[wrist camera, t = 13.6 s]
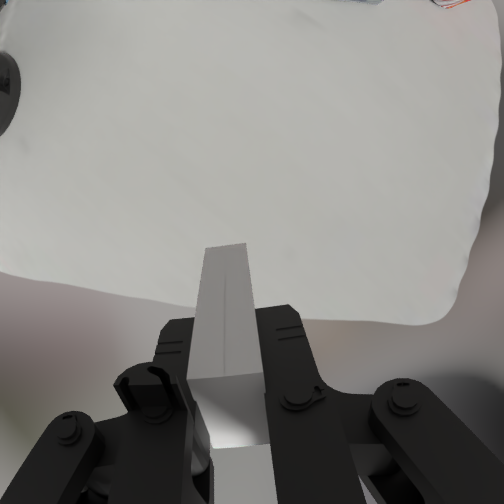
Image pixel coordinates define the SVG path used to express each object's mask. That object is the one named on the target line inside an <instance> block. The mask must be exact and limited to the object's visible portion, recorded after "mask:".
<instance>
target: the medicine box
mask: <svg viewBox="0 0 504 504" xmlns="http://www.w3.org/2000/svg"><path fill="white" fill-rule="evenodd" d="M340 1H351V2H359V3H367V4H374V5H378V4H379V3H381V2H382V1H384V0H340Z"/></svg>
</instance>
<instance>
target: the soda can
mask: <svg viewBox="0 0 504 504" xmlns="http://www.w3.org/2000/svg"><path fill="white" fill-rule="evenodd" d="M433 1H434V2H435V3H436V4H438V5H439V6H441V7H444V8H452V7H453V6H456V5H459V4H461V3H464V2H467V1H470V0H433Z"/></svg>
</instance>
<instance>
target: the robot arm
mask: <svg viewBox="0 0 504 504" xmlns="http://www.w3.org/2000/svg"><path fill="white" fill-rule="evenodd" d="M8 1H9V0H0V11H1V10H2V8H3V7H4V5H6V4H7V3H8ZM20 90H21V78H20V72H19V68H18V66H17V64H16V62H15V60H14V59H13V58H12V57H11V56H10V55H8V54H5V53H0V136H1V135H2V134H3V133H4V132H5V130H6V129H7V128H8V126H9V125H10V123H11V121H12V119H13V117H14V115H15V112H16V109H17V106H18V102H19V97H20ZM113 386H114V388H115V390H116V391H117V393H118V395H119V396H120V399H121V400H122V402H123V404H124V406H125V407H126V409H127V411H128V413H127V414H125V415H122V416H120V417H116V418H112V419H108V420H104V421H100V422H95V423H94V422H93V420H92V419H91V417H90V416H88V415H87V414H85V413H83V412H79V411H70V412H65V413H63V414H61V415H59V416H57V417H56V418H55V419H54V420H53V421H52V422H51V423H50V424H49V425H48V427H47V428H46V430H45V431H44V432H43V434H42V435H41V437H40V438H39V440H38V441H37V443H36V444H35V446H34V447H33V449H32V450H31V452H30V453H29V455H28V456H27V458H26V460H25V461H24V462H23V464H22V466H21V467H20V469H19V470H18V472H17V473H16V475H15V477H14V478H13V480H12V482H11V483H10V485H9V486H8V488H7V490H6V491H5V493H4V494H3V496H2V498H1V500H0V504H214V466H213V462H212V459H211V457H210V441H211V444H212V446H213V448H214V449H215V448H230V447H242V446H252V445H262V444H270V446H271V454H272V461H273V469H274V477H275V485H276V492H277V500H278V504H367V503H366V500H365V496H364V493H363V490H362V487H361V483H360V480H359V477H360V478H361V480H362V481H363V483H364V484H365V486H366V487H367V489H368V490H369V492H370V493H371V495H372V496H373V498H374V499H375V501H376V502H377V504H504V464H503V463H502V462H501V461H500V460H499V459H498V458H497V457H496V456H495V455H494V454H493V453H492V452H491V451H490V450H489V449H488V448H487V447H486V446H485V445H484V444H483V443H482V442H481V440H480V439H479V438H478V437H477V436H476V435H475V434H473V432H472V431H471V430H470V429H469V428H468V427H467V426H466V425H465V424H464V423H463V422H462V421H461V420H460V419H459V418H458V417H457V416H456V415H455V414H454V413H453V412H452V411H451V410H450V409H449V408H448V407H447V406H446V405H445V404H444V403H443V402H442V401H441V400H440V399H439V398H438V397H437V396H436V395H435V394H434V393H433V392H432V391H431V390H430V389H429V388H428V387H426V386H425V385H423V384H422V383H421V382H419V381H416V380H412V379H409V378H399V379H398V378H397V379H394V380H390V381H387V382H385V383H384V384H382V385H381V386H380V387H378V388H377V390H376V391H375V393H374V395H372V394H370V395H369V394H348V393H342V392H340V391H337V390H334V389H333V388H331V387H329V386H327V384H326V383H325V382H324V381H323V380H322V379H321V377H320V375H319V373H318V369H317V366H316V364H315V361H314V357H313V354H312V351H311V348H310V345H309V342H308V339H307V337H306V333H305V330H304V327H303V324H302V321H301V318H300V315H299V313H298V312H297V311H296V310H295V309H293V308H292V307H291V306H290V305H289V304H287V305H280V306H273V307H266V308H258V309H255V308H254V300H253V293H252V285H251V278H250V270H249V263H248V255H247V248H246V243H242V244H234V245H226V246H219V247H211V248H206V249H205V255H204V261H203V267H202V274H201V280H200V286H199V293H198V299H197V306H196V313H195V317H193V318H182V319H172V320H169V322H168V323H167V324H166V325H165V326H164V328H163V329H162V330H161V332H160V335H159V339H158V345H157V347H156V350H155V356H154V358H153V362H146V363H141V364H137V365H135V366H132V367H130V368H128V369H126V370H125V371H124V372H123V373H122V374H120V375H119V376H118V378H117V379H116V381H115V383H114V385H113ZM358 475H359V477H358Z"/></svg>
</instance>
